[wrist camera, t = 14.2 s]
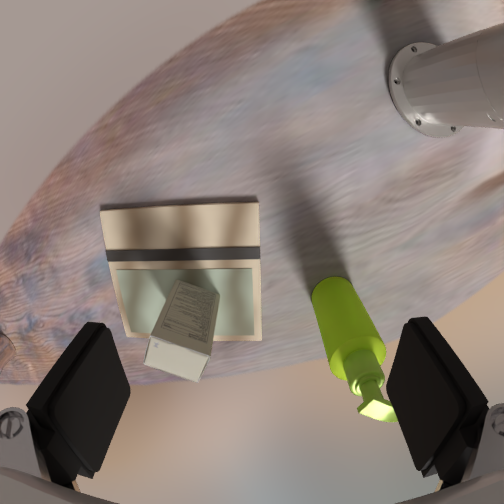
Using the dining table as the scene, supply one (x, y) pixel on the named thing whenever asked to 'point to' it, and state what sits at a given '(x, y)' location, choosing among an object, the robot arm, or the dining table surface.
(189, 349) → the skincare box
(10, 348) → the beer glass
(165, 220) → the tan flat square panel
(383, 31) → the dining table surface
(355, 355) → the soap dispenser
